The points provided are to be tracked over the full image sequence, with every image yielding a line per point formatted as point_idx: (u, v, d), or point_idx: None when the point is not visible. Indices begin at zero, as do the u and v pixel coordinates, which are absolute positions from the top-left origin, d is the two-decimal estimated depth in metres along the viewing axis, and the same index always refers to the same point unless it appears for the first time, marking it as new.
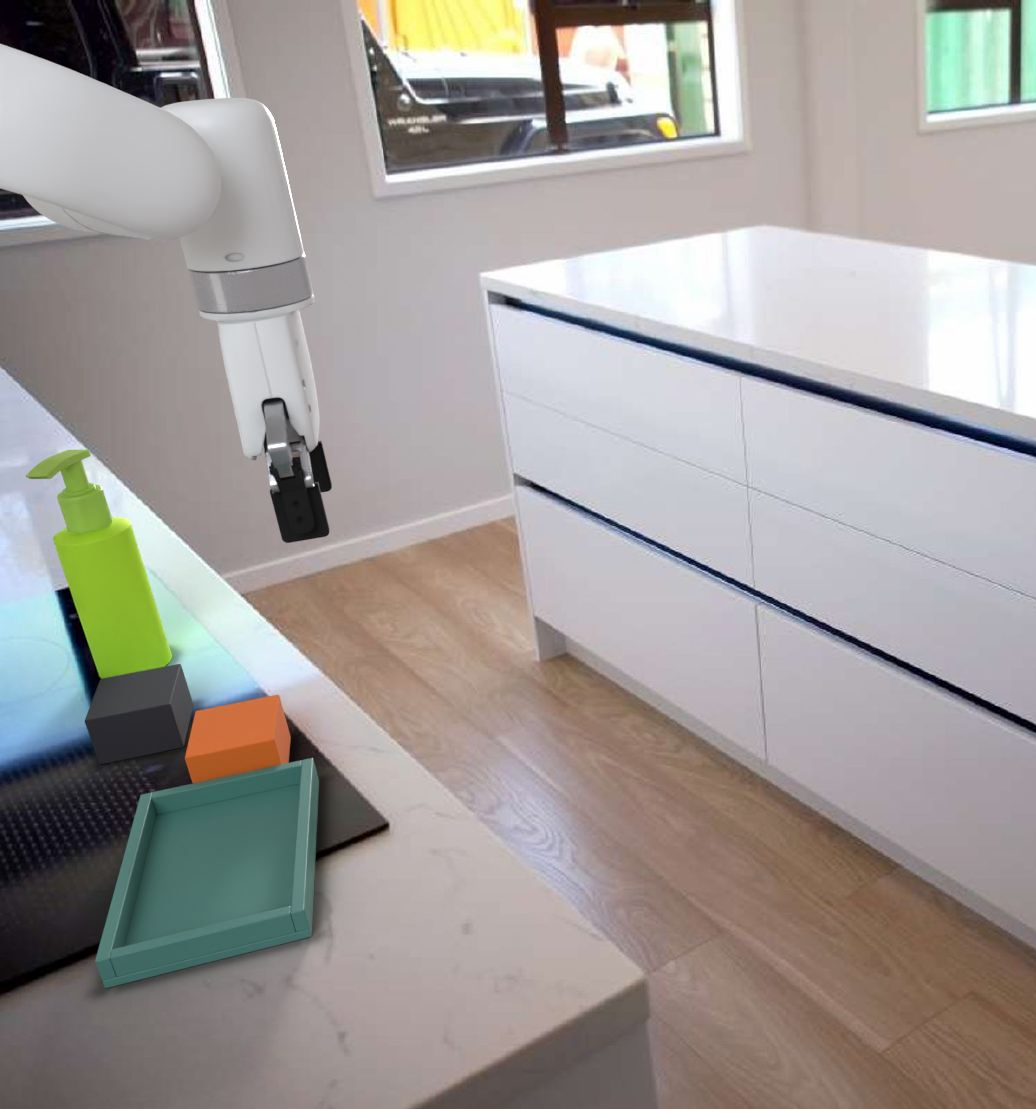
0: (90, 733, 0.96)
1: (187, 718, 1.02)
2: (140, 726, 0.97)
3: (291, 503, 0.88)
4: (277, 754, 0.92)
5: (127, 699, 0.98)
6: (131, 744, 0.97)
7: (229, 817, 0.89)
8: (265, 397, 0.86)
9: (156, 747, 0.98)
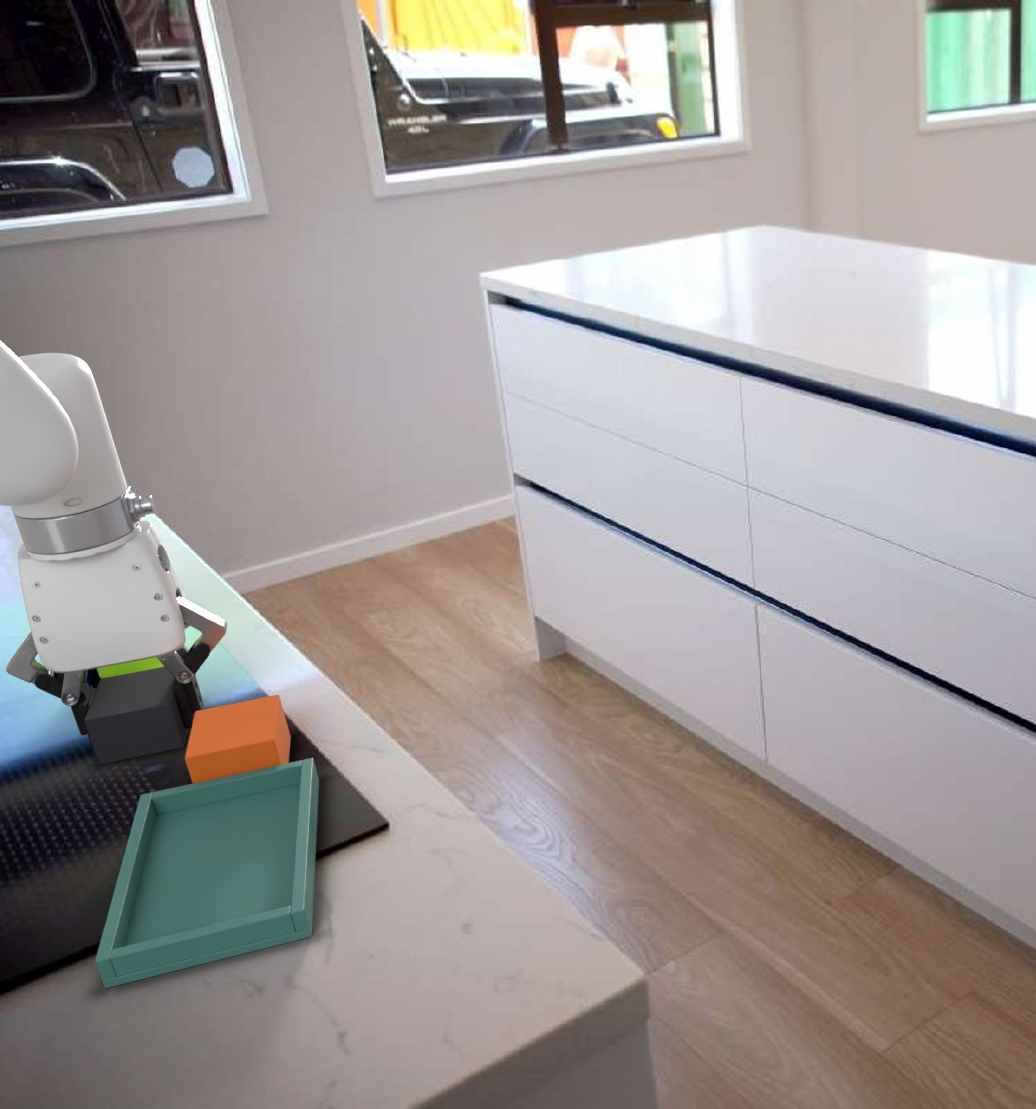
0: (90, 733, 0.96)
1: None
2: (140, 726, 0.97)
3: None
4: (277, 754, 0.92)
5: (127, 699, 0.98)
6: (131, 744, 0.97)
7: (229, 817, 0.89)
8: None
9: (156, 747, 0.98)
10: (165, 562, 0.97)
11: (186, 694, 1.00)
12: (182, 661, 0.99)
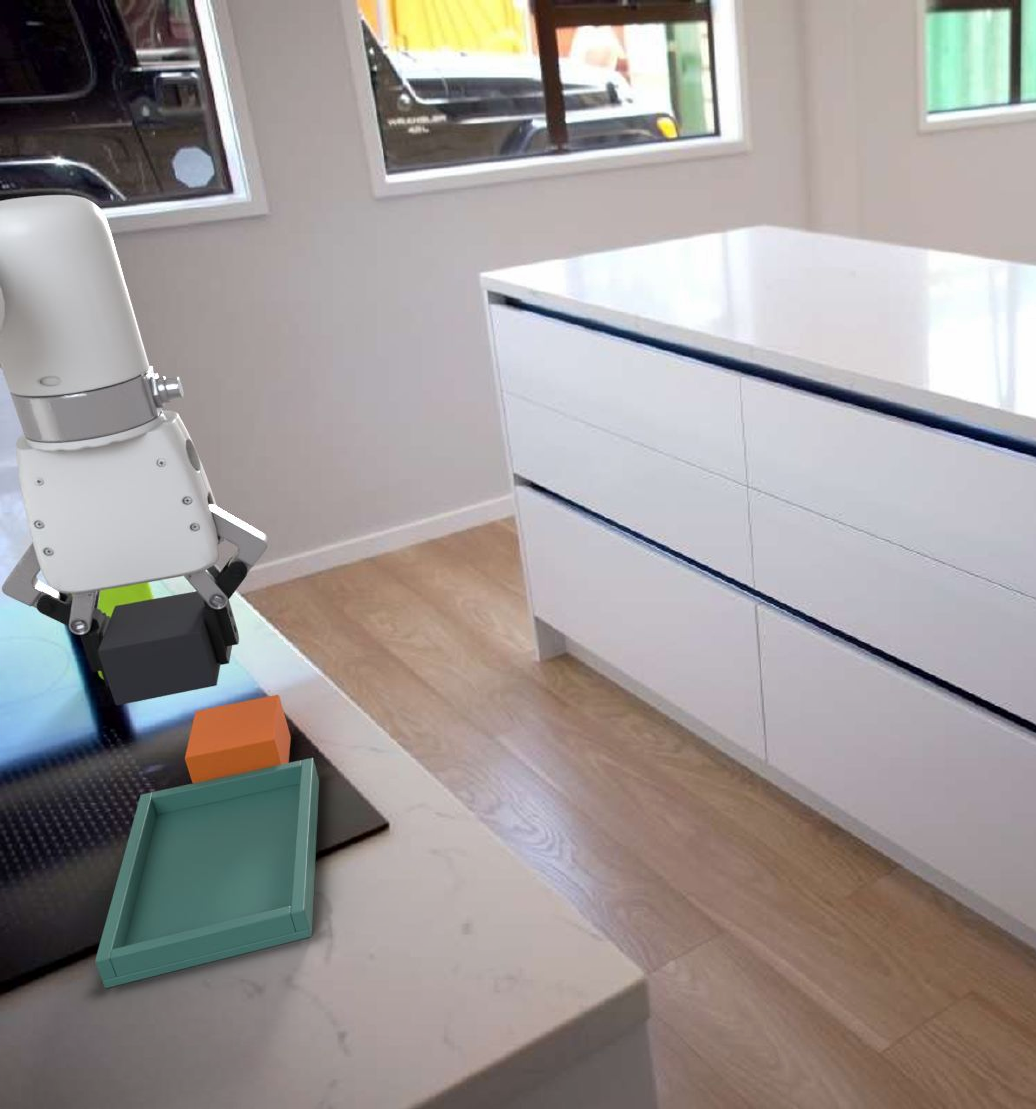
0: (104, 667, 0.79)
1: None
2: (165, 658, 0.80)
3: None
4: (277, 754, 0.92)
5: (148, 627, 0.81)
6: (154, 681, 0.81)
7: (229, 817, 0.89)
8: None
9: (184, 684, 0.81)
10: (194, 461, 0.81)
11: (219, 623, 0.83)
12: (215, 582, 0.82)
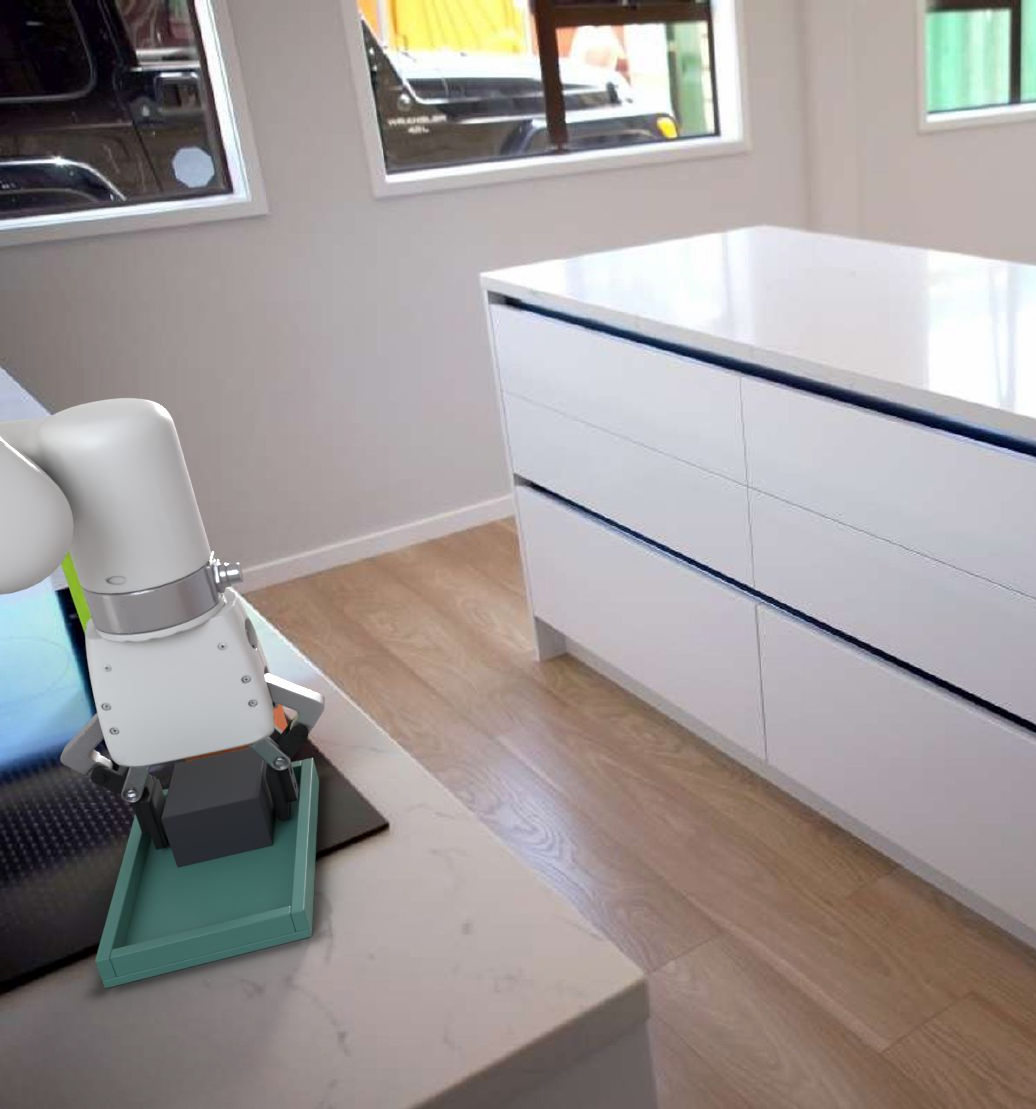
0: (167, 832, 0.83)
1: (274, 809, 0.89)
2: (224, 823, 0.84)
3: None
4: None
5: (208, 790, 0.85)
6: (214, 844, 0.84)
7: None
8: None
9: (242, 846, 0.85)
10: (252, 637, 0.84)
11: (281, 782, 0.87)
12: (276, 745, 0.85)
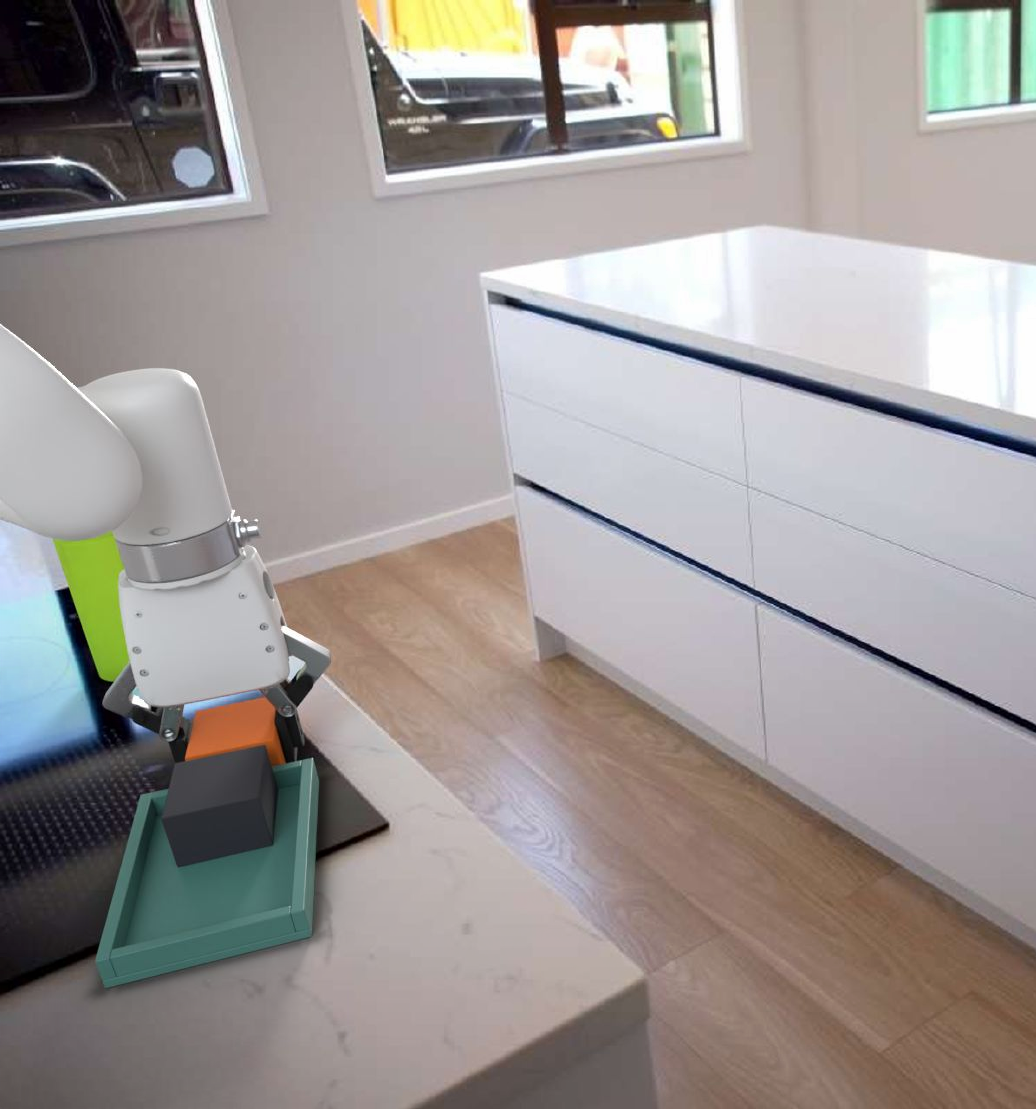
0: (167, 832, 0.83)
1: (274, 809, 0.89)
2: (224, 823, 0.84)
3: None
4: (277, 754, 0.92)
5: (208, 790, 0.85)
6: (214, 844, 0.84)
7: None
8: None
9: (242, 846, 0.85)
10: (269, 589, 0.92)
11: (288, 728, 0.94)
12: (285, 693, 0.93)
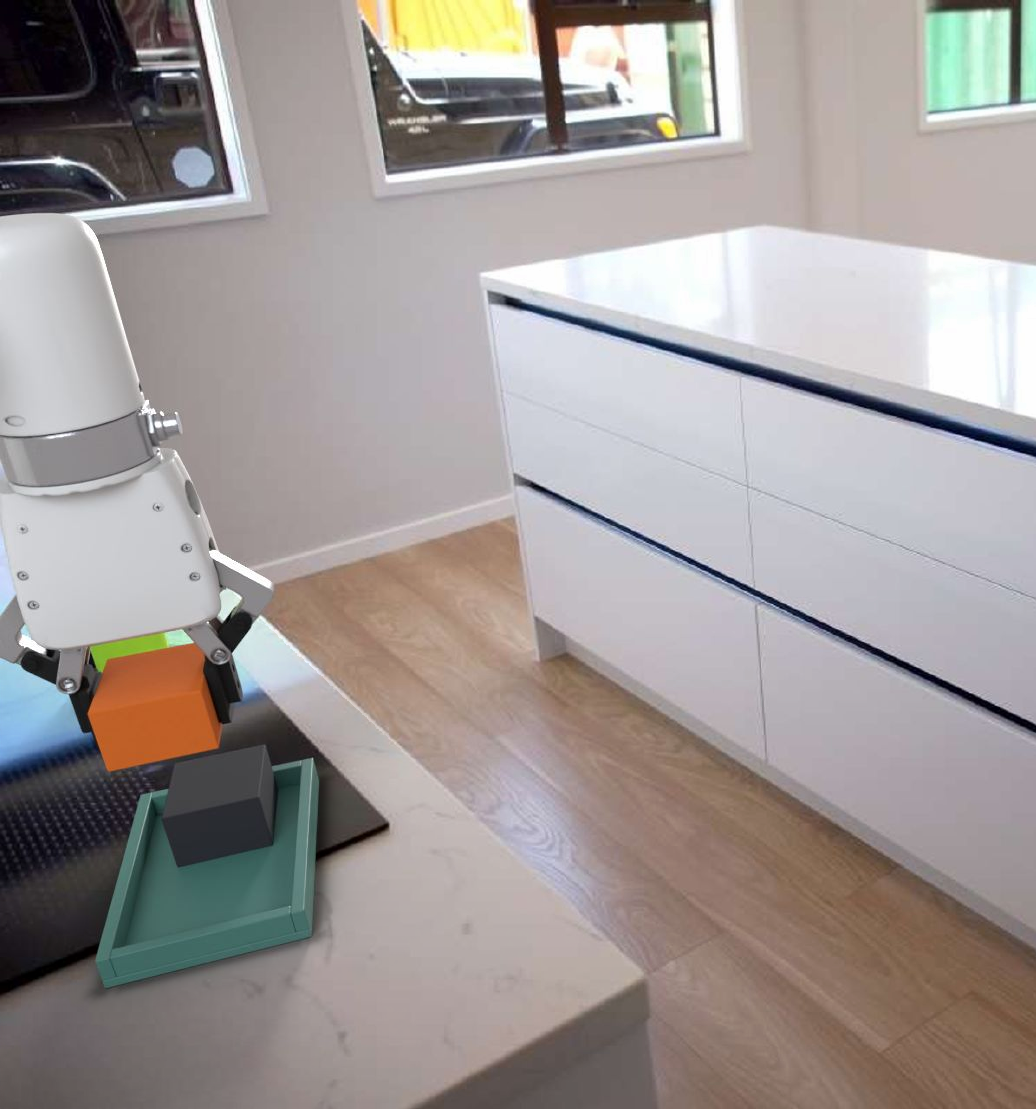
0: (167, 832, 0.83)
1: (274, 809, 0.89)
2: (224, 823, 0.84)
3: None
4: (206, 709, 0.74)
5: (208, 790, 0.85)
6: (214, 844, 0.84)
7: None
8: None
9: (242, 846, 0.85)
10: (194, 503, 0.73)
11: (221, 679, 0.76)
12: (216, 635, 0.75)
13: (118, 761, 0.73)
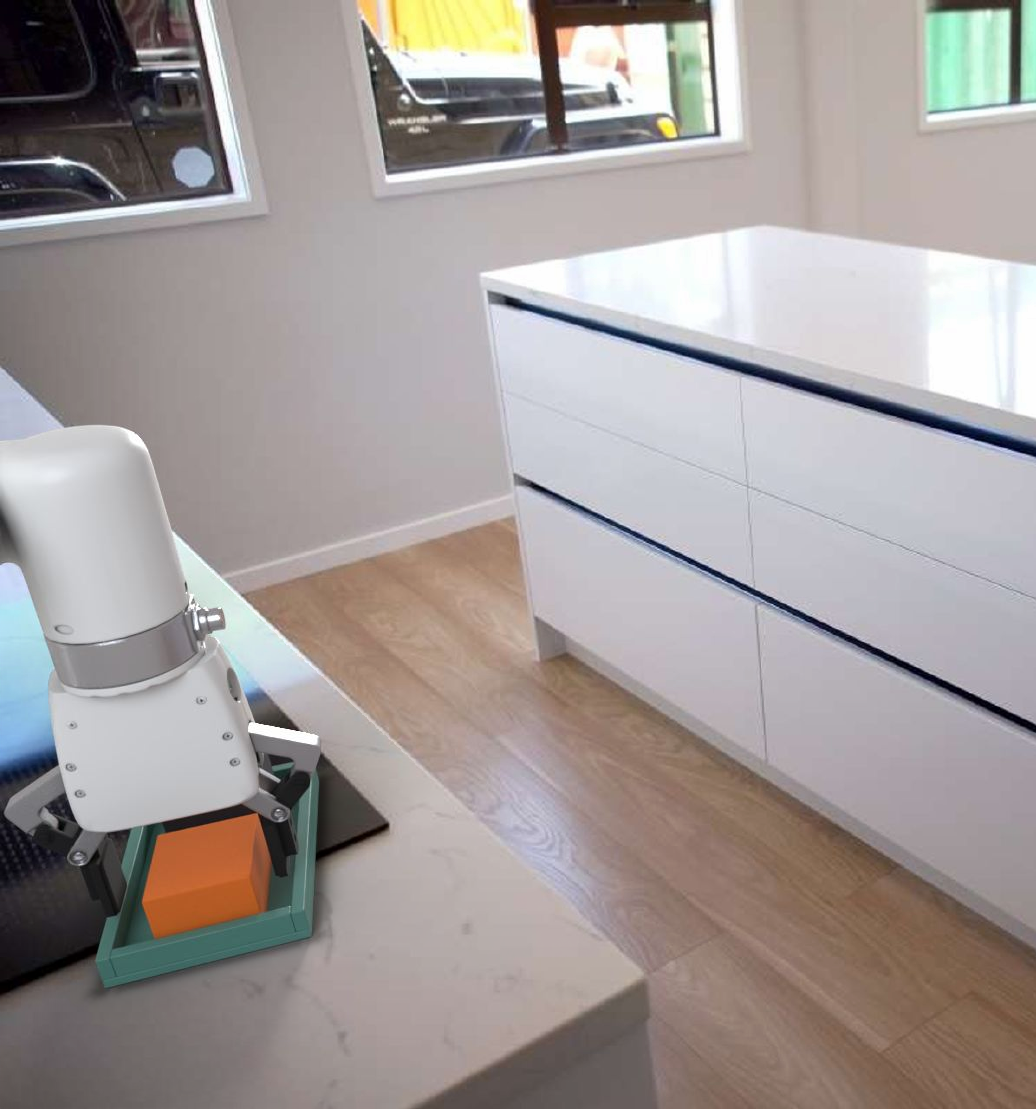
0: (167, 832, 0.83)
1: None
2: None
3: None
4: (254, 893, 0.77)
5: None
6: None
7: None
8: None
9: None
10: (235, 688, 0.76)
11: (279, 834, 0.79)
12: (270, 796, 0.77)
13: None
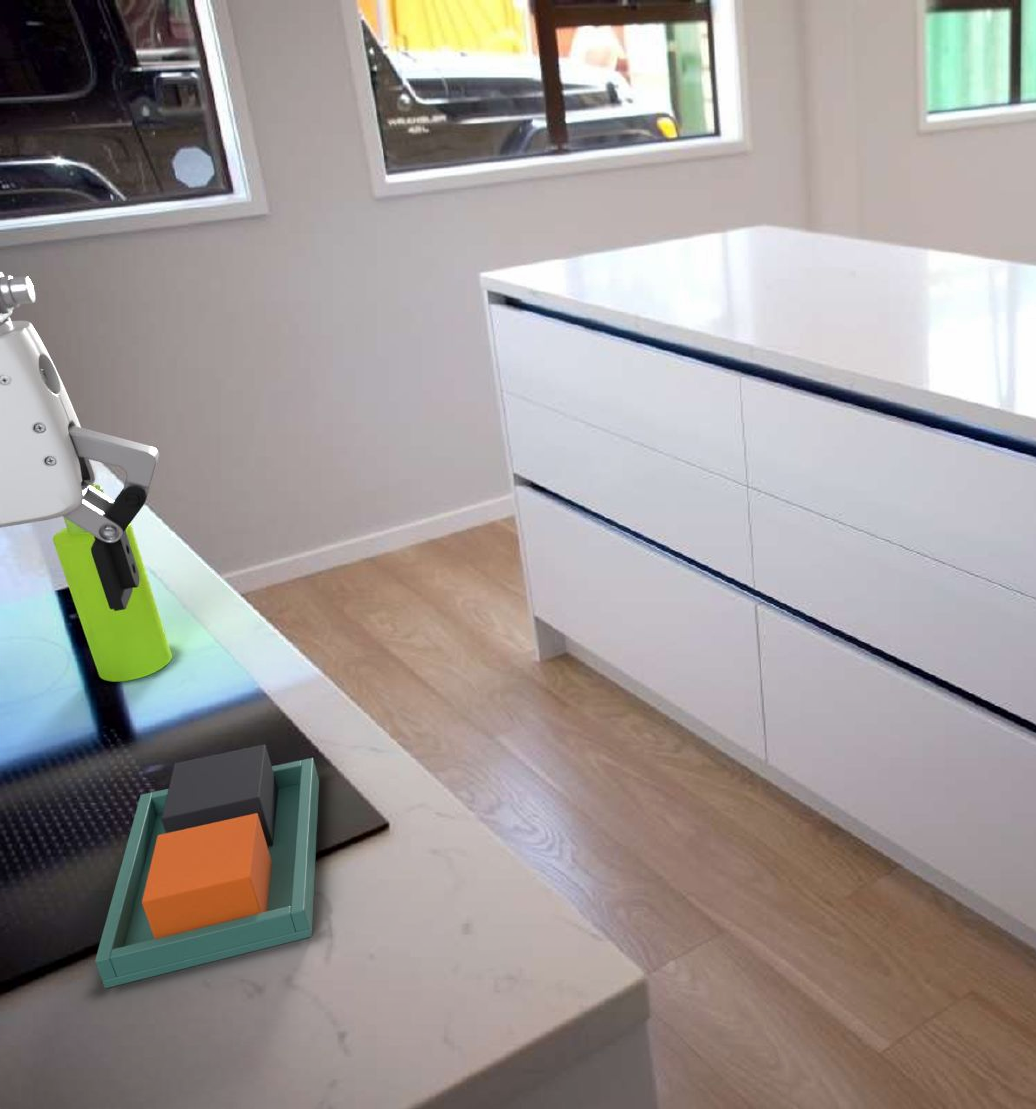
0: (167, 832, 0.83)
1: (274, 809, 0.89)
2: None
3: None
4: (254, 893, 0.77)
5: (208, 790, 0.85)
6: None
7: None
8: None
9: None
10: (53, 382, 0.67)
11: (112, 560, 0.69)
12: (97, 511, 0.68)
13: None
